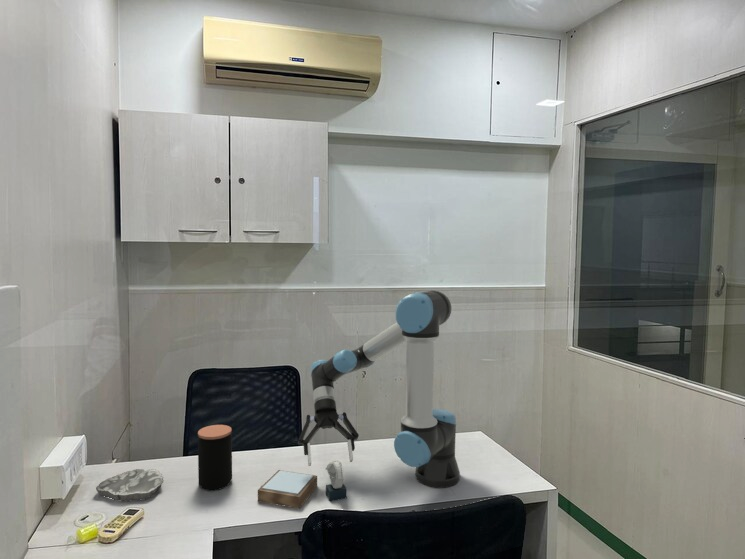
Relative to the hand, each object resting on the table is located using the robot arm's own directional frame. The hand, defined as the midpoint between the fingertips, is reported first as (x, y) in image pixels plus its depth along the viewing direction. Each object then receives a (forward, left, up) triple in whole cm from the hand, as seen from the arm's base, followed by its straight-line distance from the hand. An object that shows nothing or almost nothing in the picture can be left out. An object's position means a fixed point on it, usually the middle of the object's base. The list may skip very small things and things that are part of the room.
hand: (330, 462), depth 155 cm
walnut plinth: (+12, +6, -9) cm, 16 cm away
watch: (-3, +3, -9) cm, 10 cm away
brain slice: (+61, +18, -10) cm, 64 cm away
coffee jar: (+38, +7, -9) cm, 40 cm away
